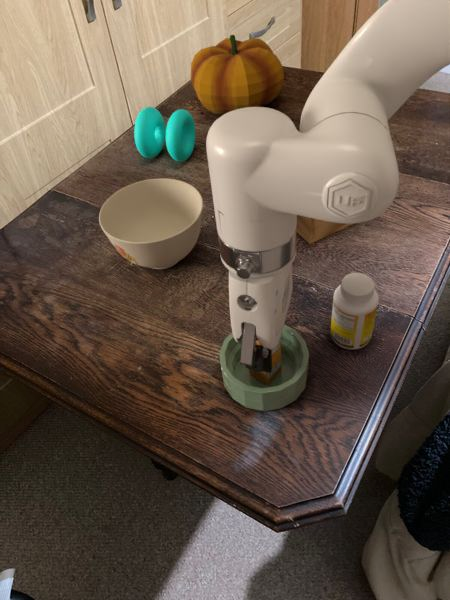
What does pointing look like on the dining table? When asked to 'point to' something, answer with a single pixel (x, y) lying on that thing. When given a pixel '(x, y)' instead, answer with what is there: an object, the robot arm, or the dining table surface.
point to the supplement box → (276, 366)
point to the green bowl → (280, 388)
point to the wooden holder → (317, 228)
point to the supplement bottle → (354, 311)
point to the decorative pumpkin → (236, 75)
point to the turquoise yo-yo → (165, 133)
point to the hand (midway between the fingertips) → (263, 351)
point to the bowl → (153, 221)
